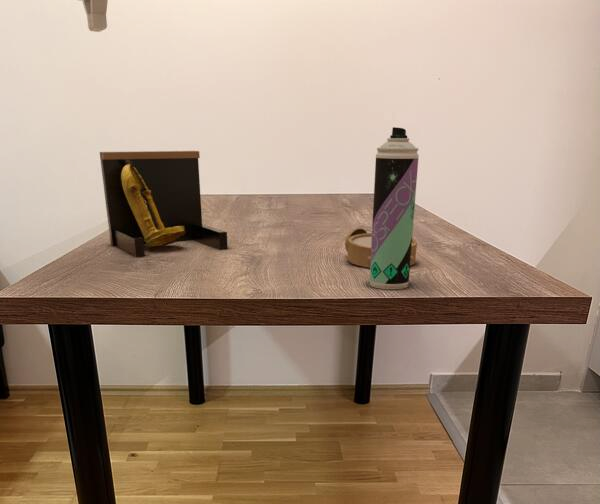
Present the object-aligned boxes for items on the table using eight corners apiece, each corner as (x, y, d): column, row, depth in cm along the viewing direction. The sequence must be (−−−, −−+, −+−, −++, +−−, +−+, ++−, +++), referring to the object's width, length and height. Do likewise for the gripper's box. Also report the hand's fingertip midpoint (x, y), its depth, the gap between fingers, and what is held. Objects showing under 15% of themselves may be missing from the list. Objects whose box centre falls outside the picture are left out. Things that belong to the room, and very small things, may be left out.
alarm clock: (356, 250, 98) (338, 220, 110) (354, 281, 100) (336, 248, 112) (427, 249, 99) (401, 219, 111) (422, 279, 102) (398, 247, 114)
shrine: (117, 249, 115) (106, 159, 109) (144, 242, 122) (136, 157, 115) (170, 254, 111) (162, 160, 104) (195, 247, 118) (189, 158, 111)
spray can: (362, 282, 91) (369, 127, 82) (395, 279, 93) (405, 127, 84) (382, 290, 86) (391, 127, 78) (416, 287, 88) (429, 127, 80)
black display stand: (133, 257, 108) (122, 154, 101) (110, 244, 119) (99, 151, 113) (230, 248, 116) (226, 153, 109) (200, 238, 128) (194, 150, 121)
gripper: (43, -82, 86) (57, 37, 92) (78, -131, 70) (92, 17, 76) (91, -74, 89) (101, 41, 95) (134, -119, 73) (143, 22, 79)
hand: (97, 30), depth 85 cm, fingers closed
